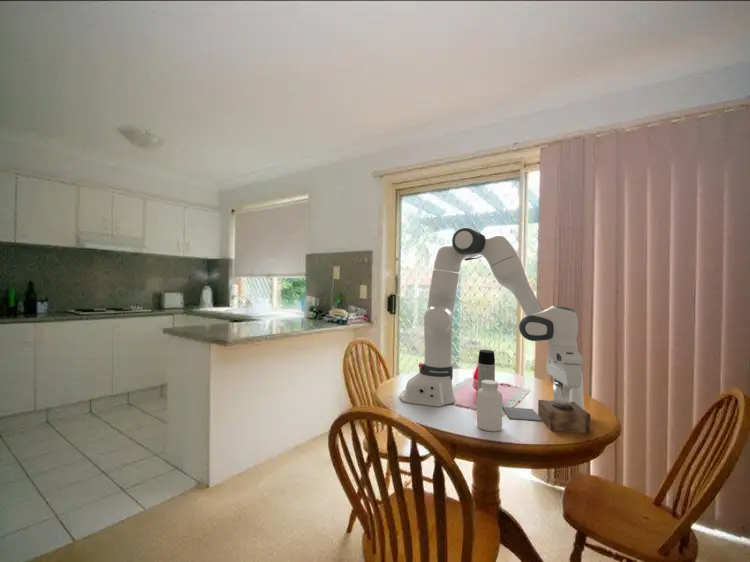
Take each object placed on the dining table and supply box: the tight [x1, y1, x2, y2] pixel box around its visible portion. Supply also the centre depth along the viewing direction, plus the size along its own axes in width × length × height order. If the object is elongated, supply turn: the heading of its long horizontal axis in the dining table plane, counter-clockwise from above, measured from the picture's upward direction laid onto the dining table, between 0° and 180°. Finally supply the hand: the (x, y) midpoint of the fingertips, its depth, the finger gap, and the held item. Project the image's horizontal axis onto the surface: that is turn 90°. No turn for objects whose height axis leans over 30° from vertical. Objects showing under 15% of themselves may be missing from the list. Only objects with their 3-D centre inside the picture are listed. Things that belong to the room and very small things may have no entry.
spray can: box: [477, 349, 496, 391], centre depth 141 cm, size 7×7×20 cm
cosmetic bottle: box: [570, 364, 586, 411], centre depth 125 cm, size 6×6×22 cm
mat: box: [502, 406, 543, 422], centre depth 124 cm, size 11×11×1 cm
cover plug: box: [552, 381, 570, 410], centre depth 116 cm, size 5×5×11 cm
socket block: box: [537, 399, 591, 434], centre depth 116 cm, size 12×12×6 cm
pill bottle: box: [476, 380, 503, 432], centre depth 113 cm, size 8×8×15 cm
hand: (561, 393), depth 116 cm, fingers closed on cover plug, 5 cm apart
